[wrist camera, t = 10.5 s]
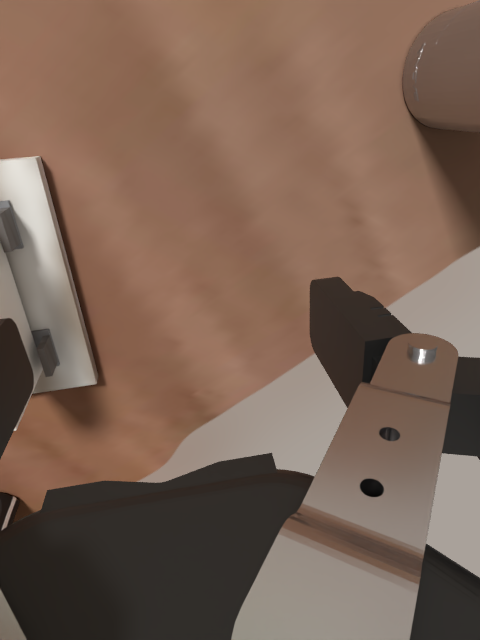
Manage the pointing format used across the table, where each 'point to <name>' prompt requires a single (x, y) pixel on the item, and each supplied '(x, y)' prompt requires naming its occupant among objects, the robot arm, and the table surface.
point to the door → (17, 317)
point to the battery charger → (7, 509)
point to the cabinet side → (43, 276)
